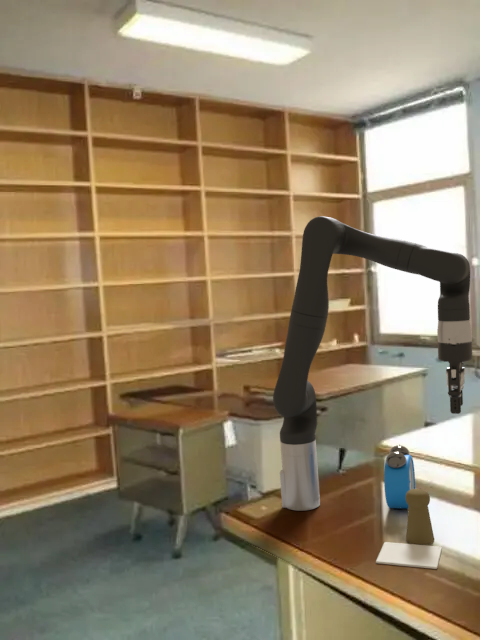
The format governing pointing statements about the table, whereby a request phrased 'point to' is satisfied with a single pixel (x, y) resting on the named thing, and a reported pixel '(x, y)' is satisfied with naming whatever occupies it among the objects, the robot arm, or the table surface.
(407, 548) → the mat
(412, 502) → the cork
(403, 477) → the alarm clock
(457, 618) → the table surface
